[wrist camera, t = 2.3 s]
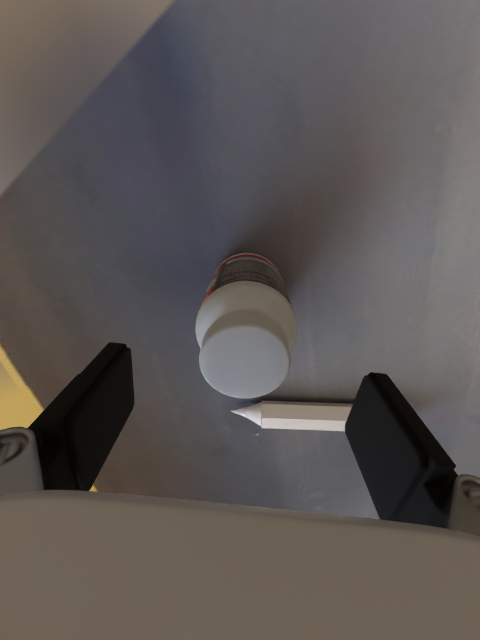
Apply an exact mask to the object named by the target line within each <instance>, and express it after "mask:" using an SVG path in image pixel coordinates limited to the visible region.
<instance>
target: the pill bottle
mask: <svg viewBox="0 0 480 640" xmlns="http://www.w3.org/2000/svg"><path fill="white" fill-rule="evenodd" d="M195 331H196V337H197V341H198V344H199V346H200V348H201V350H200V356H199V363H200V369H201V372H202V374H203V376H204V378H205V379H206V381H207V382H208V383H209V384H210V385H211V386H212V387H213V388H214V389H216V390H217V391H219V392H221V393H223V394H225V395H228V396H231V397H235V398H247V399H248V398H255V397H259V396H263V395H266V394H268V393H270V392H271V391H273V390H275V389H276V388H277V387H279V386H280V385H281V384H282V383H283V381H284V380H285V378H286V376H287V374H288V372H289V368H290V352H291V351H292V349H293V346H294V344H295V341H296V336H297V322H296V318H295V314H294V311H293V308H292V306H291V303H290V300H289V298H288V295H287V292H286V289H285V286H284V283H283V280H282V277H281V275H280V273H279V271H278V269H277V268H276V267H275V265H274V264H273V263H272V262H271V261H269V260H268V259H267V258H265V257H263V256H260V255H258V254H254V253H239V254H236V255H233V256H231V257H229V258H227V259H226V260H224V261H223V262H222V263H221V264H220V265H219V266H218V268H217V269H216V271H215V272H214V274H213V277H212V279H211V281H210V284H209V287H208V289H207V292H206V294H205V297H204V299H203V302H202V304H201V307H200V309H199V312H198V315H197V319H196V327H195Z"/></svg>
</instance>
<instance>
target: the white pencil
mask: <svg viewBox="0 0 480 640" xmlns="http://www.w3.org/2000/svg"><path fill="white" fill-rule="evenodd" d="M352 405H353V404H346V403H318V402H289V401H261V402H260V403H257V404H254V405H252V406H249V407H244V408H241V409H237V410H234V411H231V412H234V413H236V414H239V415H242V416H244V417H246V418H248V419H250V420H252V421H253V422H255V423H257V424H258V425H260V426H261V428H275V429H302V430H329V431H345V423H346V421H347V418H348V416H349V413H350V411H351V408H352Z"/></svg>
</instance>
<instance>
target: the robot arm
mask: <svg viewBox="0 0 480 640" xmlns="http://www.w3.org/2000/svg"><path fill="white" fill-rule="evenodd" d="M133 406H134V388H133V373H132V358H131V349H130V348H127V346H126V344H121V343H113V342H110V343H108V344H107V345H106V346H105V347H104V348H103V350H102V351H101V352H100V353H99V354H98V355H97V356H96V357H95V358H94V359H93V360H92V362H91V363H90V364H89V365H88V366H87V367H86V368H85V369H84V370H83V371H82V372H81V374H78V375H77V376H76V377H75V378H74V379H73V380H72V381H71V382H70V383H69V384H68V385H67V386H66V387H65V388H64V390H63V391H62V392H61V393H60V394H59V395H58V396H57V397H56V398H55V399H54V400H53V401H52V402H51V404H50V405H49V406H48V407H47V408H46V409H45V410H44V411H43V412H42V413H41V414H40V415H39V416H38V418H37V419H36V420H35V421H34V422H33V423H32V424H31V425H30V426H29V427H28V428H24V427H11V428H7V429H3V430H0V640H480V478H478V477H476V476H472V475H469V474H461V475H459V476H458V475H457V473H456V472H455V471H454V468H455V467H456V465H455V464H454V463H453V461H452V460H451V459H450V457H449V456H448V455H447V453H446V452H445V451H444V449H443V448H442V447H441V445H440V444H439V443H438V441H437V440H436V439H435V437H434V436H433V435H432V433H431V432H430V431H429V429H428V428H427V427H426V425H425V424H424V423H423V421H422V420H421V419H420V417H419V416H418V415H417V414H416V412H415V411H414V410H413V408H412V407H411V406H410V404H409V403H408V402H407V400H406V399H405V398H404V396H403V395H402V394H401V392H400V391H399V390H398V388H397V387H396V386H395V384H394V383H393V382H392V380H391V379H390V378H389V376H388V375H387V374H381V373H373V372H371V373H369V374H368V376H367V375H366V376H364V378H363V380H362V383H361V385H360V388H359V390H358V393H357V395H356V398H355V400H354V403H353V405H352V408H351V411H350V413H349V416H348V418H347V421H346V423H345V433H346V435H347V438H348V440H349V443H350V445H351V448H352V450H353V453H354V455H355V458H356V460H357V463H358V465H359V468H360V470H361V473H362V475H363V478H364V480H365V483H366V485H367V488H368V490H369V493H370V495H371V498H372V500H373V503H374V505H375V508H376V510H377V513H378V515H379V517H380V519H381V520H380V519H371V518H361V517H352V516H342V515H333V514H324V513H314V512H305V511H295V510H285V509H275V508H266V507H256V506H246V505H236V504H226V503H216V502H206V501H195V500H184V499H174V498H163V497H153V496H142V495H132V494H119V493H106V492H93V491H89V490H90V489H91V487H92V485H93V483H94V481H95V479H96V477H97V476H98V474H99V472H100V470H101V468H102V466H103V464H104V462H105V460H106V459H107V457H108V455H109V453H110V451H111V449H112V447H113V445H114V443H115V442H116V440H117V438H118V436H119V434H120V432H121V430H122V428H123V426H124V425H125V423H126V421H127V419H128V417H129V415H130V413H131V411H132V409H133Z"/></svg>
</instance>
